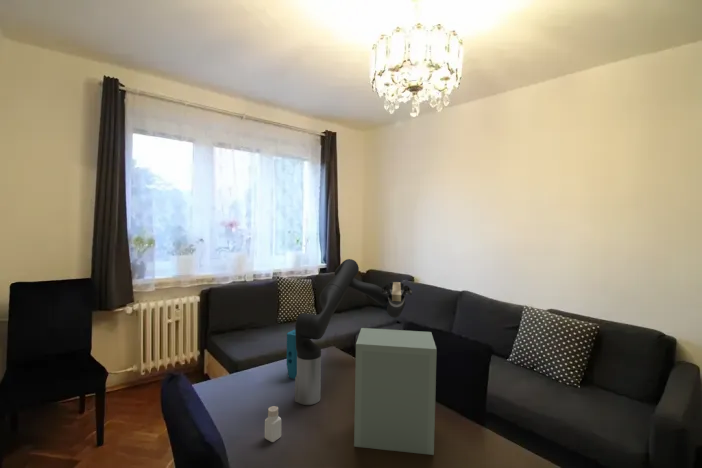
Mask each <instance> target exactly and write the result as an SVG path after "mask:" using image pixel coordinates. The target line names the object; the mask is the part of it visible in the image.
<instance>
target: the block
mask: <svg viewBox="0 0 702 468" xmlns="http://www.w3.org/2000/svg"><path fill="white" fill-rule="evenodd" d="M286 368H287V375H288V378H290V379H293V380H295V377H296V375H297V351H296V335H295V329H292V330H291V331H289V332H286Z"/></svg>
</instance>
